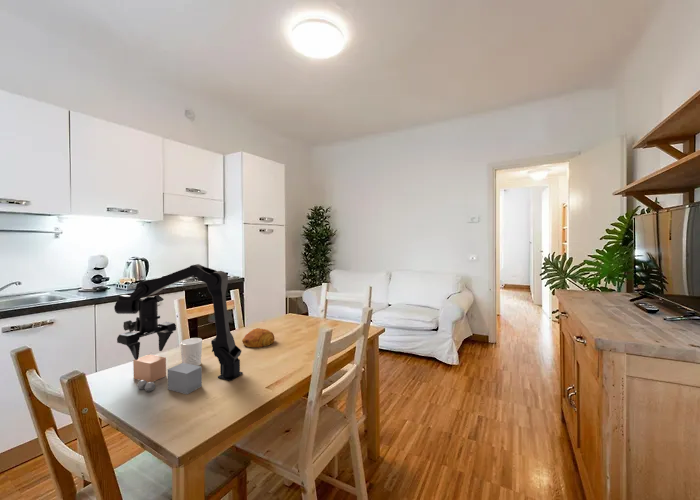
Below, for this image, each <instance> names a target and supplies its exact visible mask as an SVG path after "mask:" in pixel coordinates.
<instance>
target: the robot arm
mask: <svg viewBox="0 0 700 500" xmlns="http://www.w3.org/2000/svg"><path fill="white" fill-rule="evenodd" d="M192 277H195V278H196V279H198V281H200V282H202V283H205V284H206V287H207V290H208V292H209V294H210V295H211V297H212V298H211V299H212V304H213V305H212V307H213V315H214V316H213V317H214V322H215V323H214V324H215V330H216V331H215V332H216V336H215V337H214V338H213V339H211V343H210V344H211V347H212V349H211V352H212V353H213V355H214V357H216V358H217V360H218V363H219V367H220V370H219V371H220V372H219V373H220V375H218V376H217V378H218V379H220V380H226V381H229V382H230V381H233V380H235V379H237V378H238V377H240V376H242V375H243V373H244V372H242V371H241V361H240V360H241V359H240V358H239V357H240V356H241V353H242V349H241V348H240V347H238V346H237V345H236V342H235V338H234V335H233V334H232V332H231V330H230V325H229V323H230V322H229V314H228V313H229V312H228V307H227V306H228V305H227V304H228V303H227V294H226V293H227V290H228V284H229V283H228V282H229V276H228V274H227V273H226V272H225V271H223V270H216V269H212V268H210V267H206V266H204V265H202V264H200V263H198V264H192V265H191V264H190V266H188V267H186V268H183V269H180V270H177V271H175V272H172V273H169V274H167V275H164V276H160V277H156V278H151V279H145V280H140V281H139V282H137V284H136V286H135V289H134V290H133V292H132V293H131V294H130V295H128V294H121V295H118V299H117V301H116V302H115V305H114V307H113V308H114V312H115V313H116V314H118V315H121V314H122V315H124V314H126V315H128V314H129V315H132V314H133V315H135V314H137V313H138V316H137V317H136V318H135V319H136V320H135V321H132V319H131V320H126V321H124V322H123V325H122V326H123V330H124V331H125V332H124V333H120V334H118V336H117V337H116V340H117V341H116V343H117V344H121V345H125V346H127V347H128V349H129V350H130V353H131V355H132V356H133V360H134V359H135V360H138V358H140V357H139V356H140V349H141V348H140V347H141V341H140V338H143V337H147V336H150V335H153V334H157V336H158V350H159V352H163V350H164V347H165V346H166V343H167V342H168V340H169V339H170V337H171V335H172V334H173V333H174V332H175V331H177V325H176V323H175V322H170V321H165V322H161V323H159V321H158V319H161V315H160V314H159V315H158V310H159V309H158V303H161V302H162V301H164V299H165V298H163V297H162V296H160V295H159V294H158V293H159V292H161V291H163V290H164V289H166V288H167V287H169V286H171V285H174V284H176V283H179V282H183V281H184V280H187V279H190V278H192ZM151 295H154V296H151ZM126 331H128V332H126Z"/></svg>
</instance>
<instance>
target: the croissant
mask: <svg viewBox="0 0 700 500" xmlns="http://www.w3.org/2000/svg"><path fill="white" fill-rule="evenodd" d="M241 342H242V344H243V346H246V347H248V348H258V349H260V348H263V347H268V346H270V344H271V345H273V344H274V342H275V334H274V333H273V332H272V331H270V330H268V329H266V328H261V327H259V328H258V327H257V328H253V329H252V330H250V331H249V332H248V333H246V334H245V335H244V336H243V338H242V340H241Z"/></svg>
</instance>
